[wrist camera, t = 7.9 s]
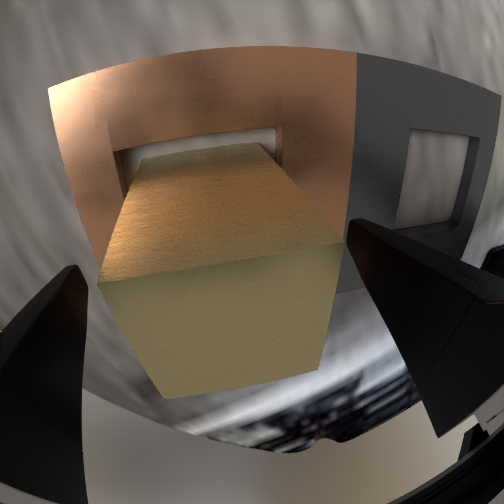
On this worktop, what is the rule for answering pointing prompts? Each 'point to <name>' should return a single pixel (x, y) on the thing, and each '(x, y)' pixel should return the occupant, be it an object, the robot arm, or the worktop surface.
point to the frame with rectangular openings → (280, 130)
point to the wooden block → (220, 271)
